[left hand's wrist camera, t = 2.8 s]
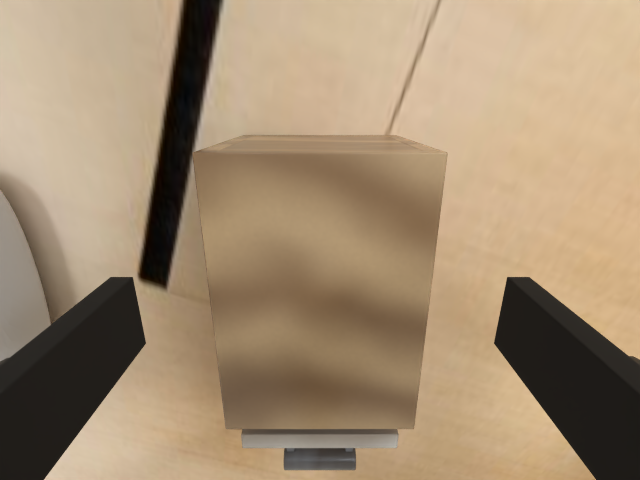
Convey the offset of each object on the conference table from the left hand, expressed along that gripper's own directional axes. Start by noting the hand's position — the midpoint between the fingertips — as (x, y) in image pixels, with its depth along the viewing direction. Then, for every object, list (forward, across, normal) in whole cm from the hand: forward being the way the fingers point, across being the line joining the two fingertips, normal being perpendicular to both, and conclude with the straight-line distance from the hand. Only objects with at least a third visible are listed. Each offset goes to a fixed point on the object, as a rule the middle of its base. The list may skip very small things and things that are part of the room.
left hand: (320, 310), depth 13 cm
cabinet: (+16, 0, -3) cm, 16 cm away
